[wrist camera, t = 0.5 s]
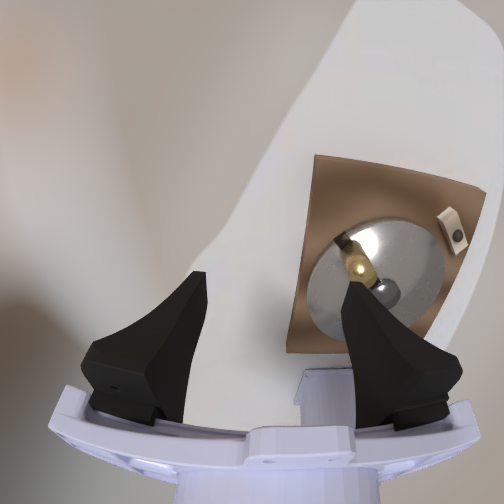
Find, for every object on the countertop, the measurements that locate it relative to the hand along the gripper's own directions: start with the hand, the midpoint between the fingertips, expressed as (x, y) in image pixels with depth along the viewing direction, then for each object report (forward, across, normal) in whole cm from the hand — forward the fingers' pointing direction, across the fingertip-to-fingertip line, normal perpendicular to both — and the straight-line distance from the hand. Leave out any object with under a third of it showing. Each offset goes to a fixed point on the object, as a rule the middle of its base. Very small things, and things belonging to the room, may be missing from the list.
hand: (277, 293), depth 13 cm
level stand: (+9, -11, +5) cm, 15 cm away
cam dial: (+8, -10, +5) cm, 13 cm away
